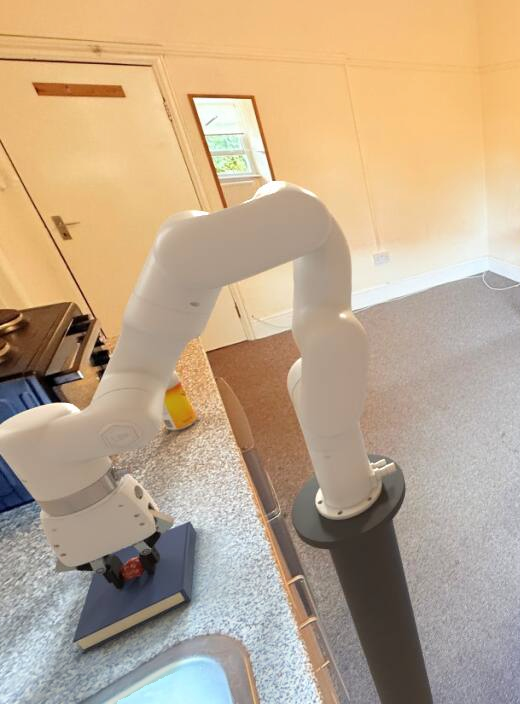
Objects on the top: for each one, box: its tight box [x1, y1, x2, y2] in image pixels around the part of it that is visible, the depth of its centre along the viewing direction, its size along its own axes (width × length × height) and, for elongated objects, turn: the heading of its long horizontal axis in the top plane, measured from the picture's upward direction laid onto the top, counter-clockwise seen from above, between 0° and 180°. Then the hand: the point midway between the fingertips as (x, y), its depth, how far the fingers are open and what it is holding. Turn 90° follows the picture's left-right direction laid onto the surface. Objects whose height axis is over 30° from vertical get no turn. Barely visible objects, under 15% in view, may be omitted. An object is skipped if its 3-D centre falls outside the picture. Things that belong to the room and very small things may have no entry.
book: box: [72, 520, 197, 654], centre depth 62 cm, size 12×14×3 cm
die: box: [119, 557, 145, 580], centre depth 61 cm, size 3×3×3 cm
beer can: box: [162, 370, 197, 431], centre depth 96 cm, size 6×6×15 cm
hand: (137, 572), depth 61 cm, fingers closed on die, 3 cm apart
